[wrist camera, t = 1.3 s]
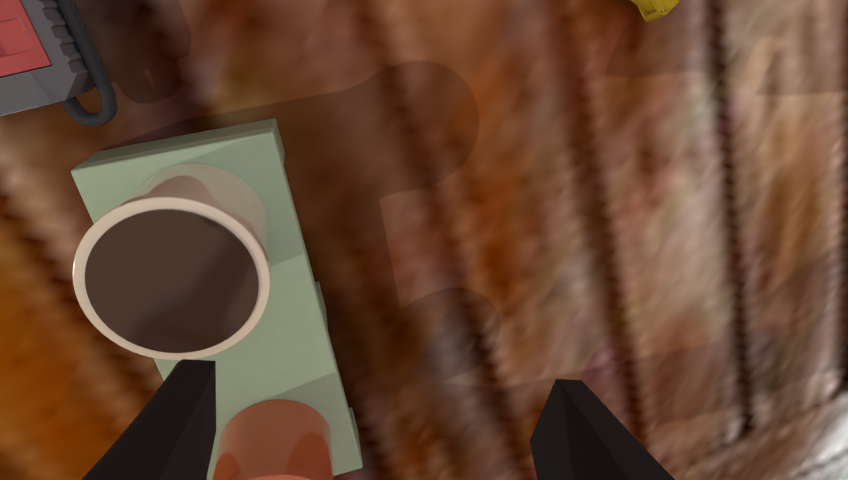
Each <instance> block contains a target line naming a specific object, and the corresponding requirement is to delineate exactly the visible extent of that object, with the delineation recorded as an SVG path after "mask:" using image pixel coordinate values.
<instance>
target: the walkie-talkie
mask: <svg viewBox="0 0 848 480" xmlns="http://www.w3.org/2000/svg"><path fill="white" fill-rule="evenodd" d="M94 84H95V86H96V88H97V90H98V92H99V94H100V98H101V103H102V109H101V112H100V113H89V112H87V111H86V110H85V109H84V108H83V107H82V106H81V105H80V103H79V101H78V100H77V98H76V96H77V95H79V94H82V93H84V92H87V91H89V90H92V88H93V85H94ZM57 102H61V103H62V105H63V107H64V108H65V110H66V112H67V113H68V114H69V115H70V116H71V117H72V118H73V119H74V120H75V121H77V122H79V123H81V124H83V125H93V126H101V125H103V124H105V123H107V122H109V121H110V120H112V119H113V117H114V115H115V114H116V111H117V103H116V96H115V92H114V89H113V87H112V85H111V83H110V80H109V78H108V76H107V74H106V72H105V69H104V67H103V65H102V63H101V60H100V58H99V56H98V54H97V51H96V49H95V47H94V45H93V43H92V40H91V38H90V36H89V34H88V31H87V29H86V27H85V25H84V23H83V20H82V18H81V16H80V14H79V11H78V9H77V7H76V5H75V3H74V0H0V116H3V115H8V114H12V113H16V112H20V111H24V110H29V109H33V108H37V107H41V106H45V105H50V104H53V103H57Z"/></svg>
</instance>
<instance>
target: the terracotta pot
mask: <svg viewBox="0 0 848 480" xmlns="http://www.w3.org/2000/svg"><path fill="white" fill-rule="evenodd" d="M212 480H335V478H334V465H333V452H332V439H331V431H330V428H329V425H328V423H327V422H326V420H325V419H324V417H323V416H322V415H321V414H320V413H319V412H318V411H316V410H315V409H313V408H312V407H310V406H308V405H306V404H303V403H300V402H297V401H292V400H269V401H264V402H260V403H257V404H254V405H251V406H249V407H247V408H245V409H244V410H242V411H240V412H239V413H238V414H236V415H235V416H234V417H233V418H232V419H231V420H230V421H229V422H228V423H227V425H226V426H225V428H224V429H223V431H222V434H221V437H220V441H219V446H218V452H217V457H216V463H215V468H214V474H213V479H212Z"/></svg>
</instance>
